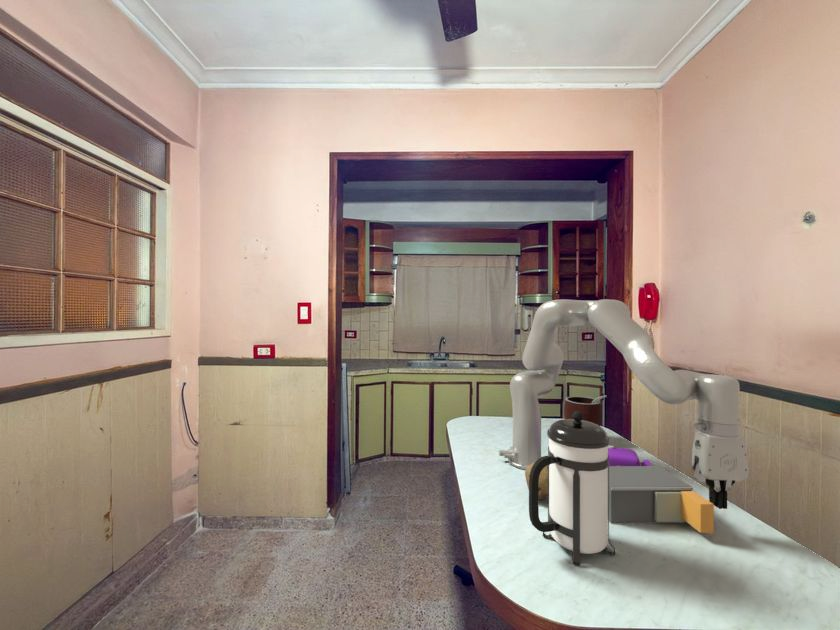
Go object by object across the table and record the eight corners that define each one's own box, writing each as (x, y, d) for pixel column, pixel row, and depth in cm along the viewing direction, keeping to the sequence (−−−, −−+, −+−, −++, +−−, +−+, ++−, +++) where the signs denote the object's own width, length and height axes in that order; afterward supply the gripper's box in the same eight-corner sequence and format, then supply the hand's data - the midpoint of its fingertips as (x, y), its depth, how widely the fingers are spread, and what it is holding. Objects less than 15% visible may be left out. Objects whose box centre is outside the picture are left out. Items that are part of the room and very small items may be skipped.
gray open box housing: (603, 524, 88) (603, 487, 88) (580, 498, 101) (580, 466, 101) (692, 523, 88) (692, 487, 88) (659, 498, 101) (659, 466, 101)
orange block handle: (674, 537, 81) (674, 504, 81) (654, 520, 88) (654, 489, 88) (713, 537, 81) (713, 504, 81) (691, 519, 88) (691, 489, 88)
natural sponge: (558, 493, 103) (558, 458, 103) (560, 509, 95) (560, 471, 95) (525, 488, 106) (525, 455, 106) (524, 504, 98) (524, 467, 98)
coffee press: (544, 517, 91) (544, 399, 91) (616, 537, 83) (616, 408, 83) (528, 558, 76) (528, 417, 76) (613, 586, 68) (613, 429, 68)
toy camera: (659, 494, 103) (659, 459, 103) (607, 489, 106) (607, 455, 106) (644, 477, 114) (644, 445, 114) (597, 473, 116) (597, 442, 116)
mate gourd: (561, 444, 142) (561, 394, 142) (567, 434, 154) (567, 387, 154) (605, 452, 134) (605, 398, 134) (608, 441, 146) (608, 391, 145)
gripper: (699, 433, 81) (698, 514, 81) (765, 433, 81) (765, 514, 81) (675, 423, 88) (675, 497, 88) (735, 423, 88) (735, 497, 88)
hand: (718, 505), depth 84 cm, fingers closed
